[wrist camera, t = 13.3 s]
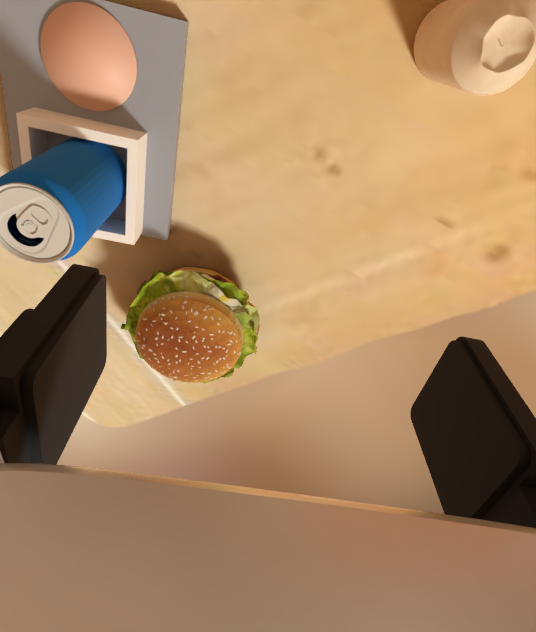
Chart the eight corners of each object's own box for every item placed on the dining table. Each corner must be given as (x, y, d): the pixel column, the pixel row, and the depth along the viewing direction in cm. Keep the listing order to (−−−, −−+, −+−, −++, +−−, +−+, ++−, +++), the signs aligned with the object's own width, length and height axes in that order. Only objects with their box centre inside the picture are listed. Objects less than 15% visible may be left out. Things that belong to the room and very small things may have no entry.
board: (-4, -28, 31) (-39, -36, 27) (188, 21, 32) (178, 20, 29) (24, 206, 41) (1, 223, 37) (169, 235, 42) (160, 254, 39)
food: (286, 299, 46) (289, 344, 40) (213, 372, 53) (205, 421, 46) (182, 224, 42) (165, 261, 35) (114, 314, 48) (89, 359, 41)
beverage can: (42, 165, 37) (-43, 217, 27) (88, 117, 35) (14, 154, 25) (100, 220, 40) (42, 285, 30) (146, 179, 38) (100, 234, 28)
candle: (423, 95, 35) (470, 115, 27) (403, 23, 32) (449, 21, 24) (491, 59, 33) (563, 69, 25) (476, -19, 31) (552, -37, 22)
